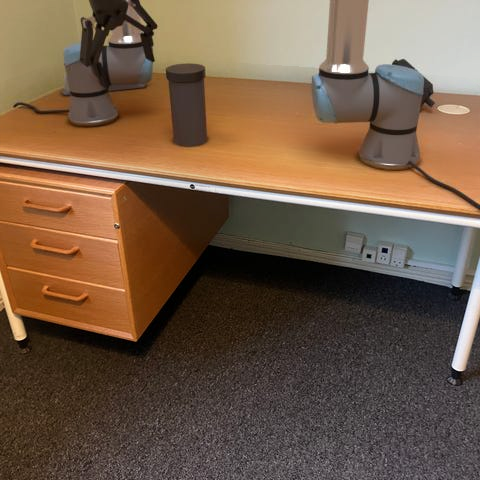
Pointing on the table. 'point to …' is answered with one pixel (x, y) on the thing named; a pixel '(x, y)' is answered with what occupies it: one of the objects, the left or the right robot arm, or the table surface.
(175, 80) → the lid
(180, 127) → the jar
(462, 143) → the table surface
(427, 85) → the tool
